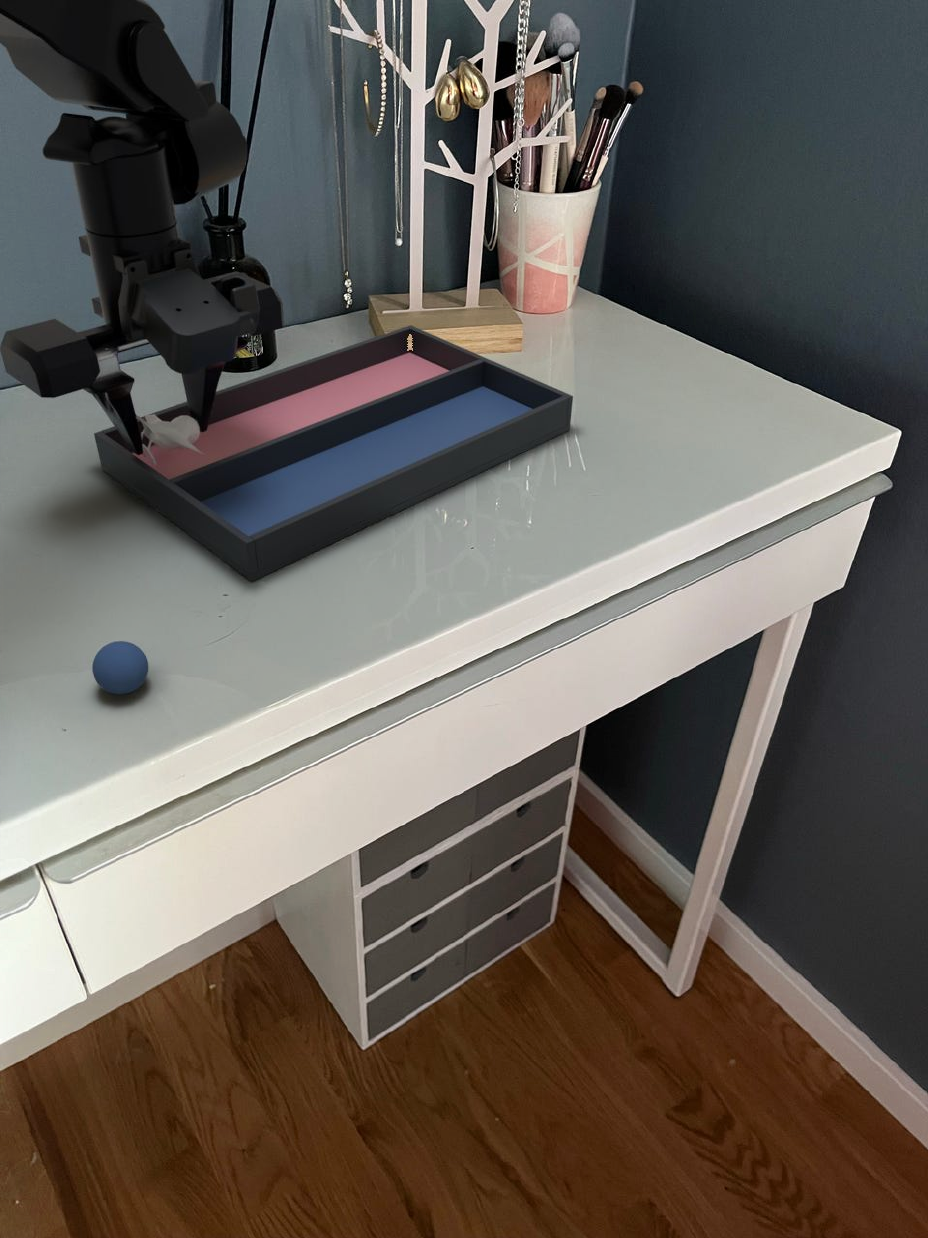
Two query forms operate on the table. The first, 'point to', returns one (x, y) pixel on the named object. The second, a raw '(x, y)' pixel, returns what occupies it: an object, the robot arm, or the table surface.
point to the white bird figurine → (170, 433)
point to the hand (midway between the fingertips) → (169, 441)
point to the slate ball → (120, 667)
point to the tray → (336, 446)
